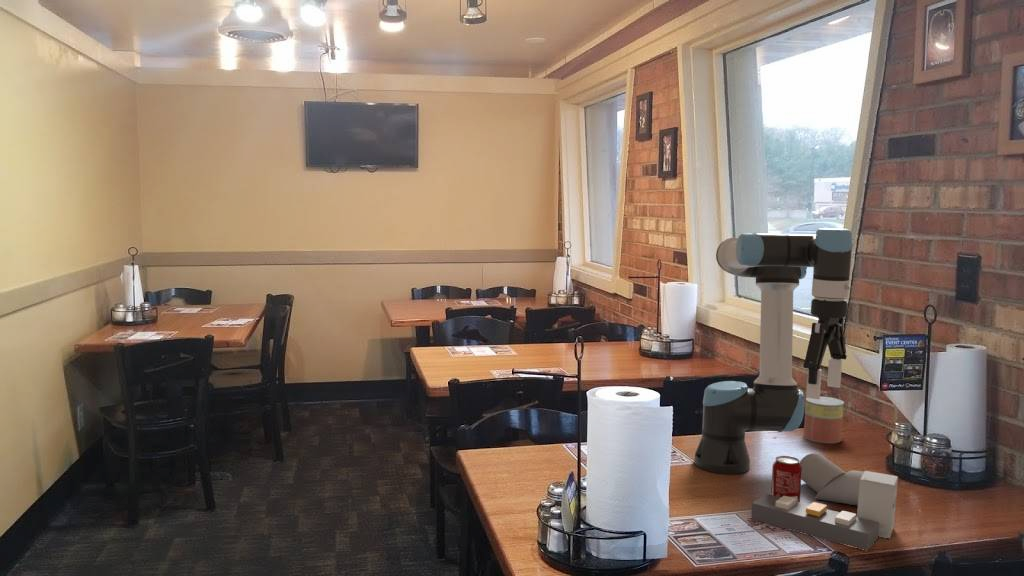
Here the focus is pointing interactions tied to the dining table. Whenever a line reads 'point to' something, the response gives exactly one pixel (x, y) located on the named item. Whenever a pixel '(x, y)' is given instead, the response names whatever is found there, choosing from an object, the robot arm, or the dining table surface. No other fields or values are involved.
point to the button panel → (816, 521)
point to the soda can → (786, 477)
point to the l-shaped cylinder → (830, 480)
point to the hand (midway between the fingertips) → (823, 392)
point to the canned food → (823, 419)
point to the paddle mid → (816, 509)
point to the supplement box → (878, 500)
